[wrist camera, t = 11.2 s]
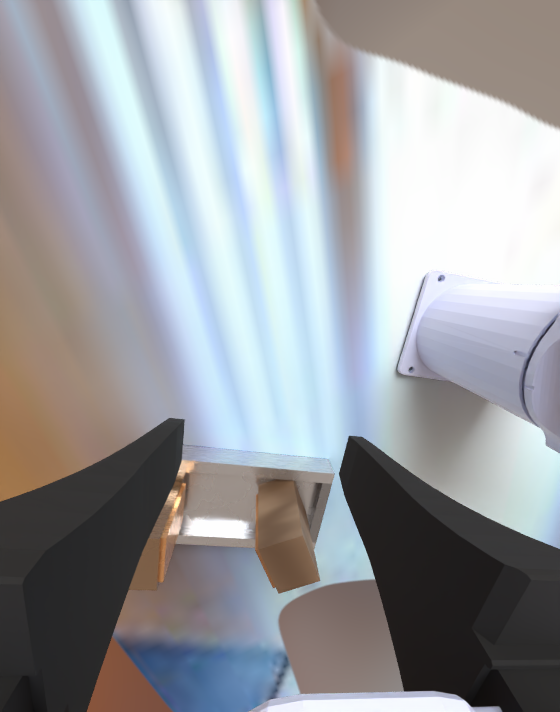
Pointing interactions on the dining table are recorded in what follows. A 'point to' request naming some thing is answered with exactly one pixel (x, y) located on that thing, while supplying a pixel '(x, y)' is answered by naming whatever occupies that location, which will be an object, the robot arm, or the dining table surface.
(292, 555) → the tan cardboard box
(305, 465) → the rail
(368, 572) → the dining table surface
